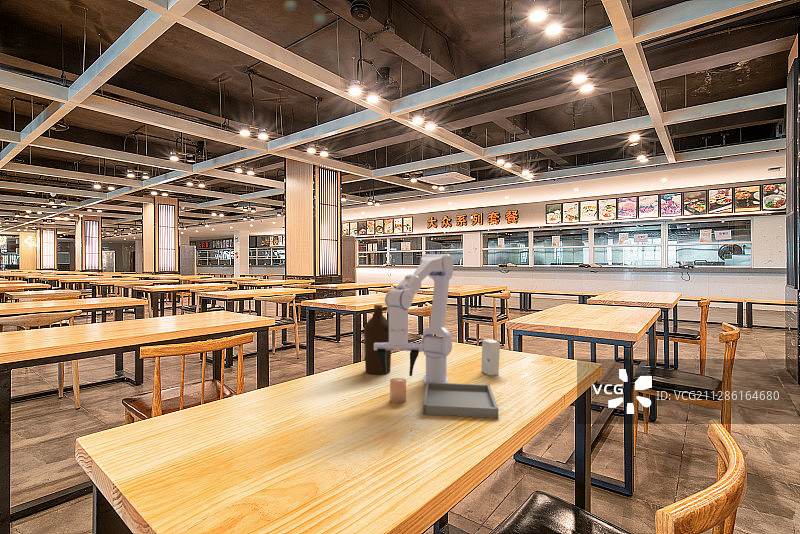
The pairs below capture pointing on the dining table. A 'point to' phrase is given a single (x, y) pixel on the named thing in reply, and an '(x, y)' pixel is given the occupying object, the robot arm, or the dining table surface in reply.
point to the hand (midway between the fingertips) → (398, 374)
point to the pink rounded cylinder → (398, 390)
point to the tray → (459, 400)
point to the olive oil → (376, 341)
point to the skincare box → (490, 357)
